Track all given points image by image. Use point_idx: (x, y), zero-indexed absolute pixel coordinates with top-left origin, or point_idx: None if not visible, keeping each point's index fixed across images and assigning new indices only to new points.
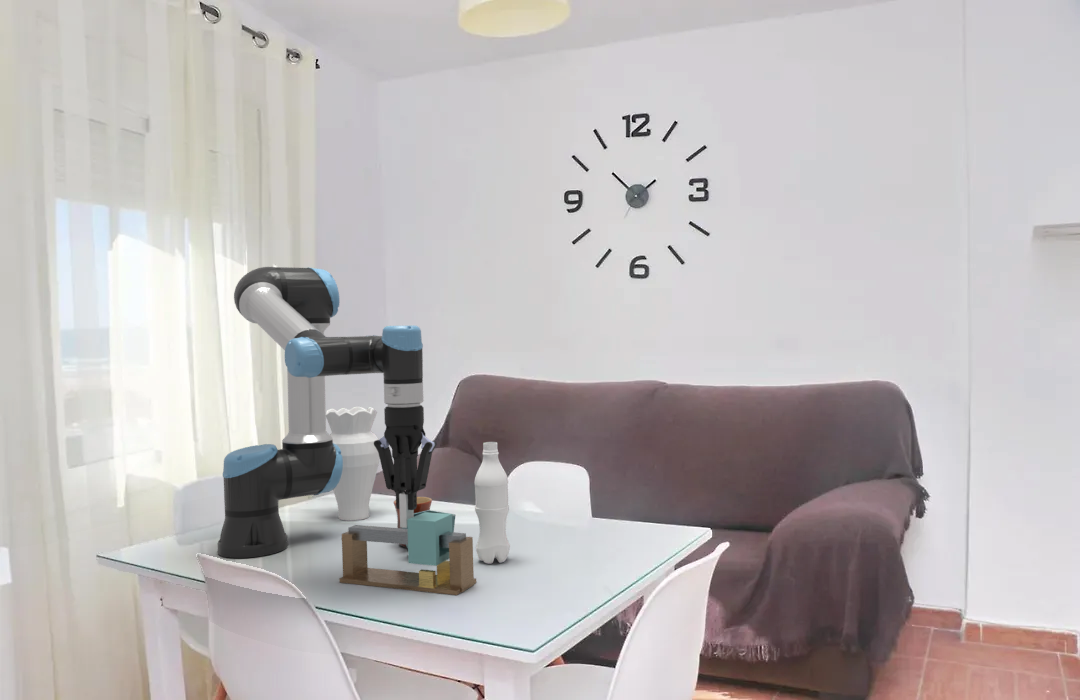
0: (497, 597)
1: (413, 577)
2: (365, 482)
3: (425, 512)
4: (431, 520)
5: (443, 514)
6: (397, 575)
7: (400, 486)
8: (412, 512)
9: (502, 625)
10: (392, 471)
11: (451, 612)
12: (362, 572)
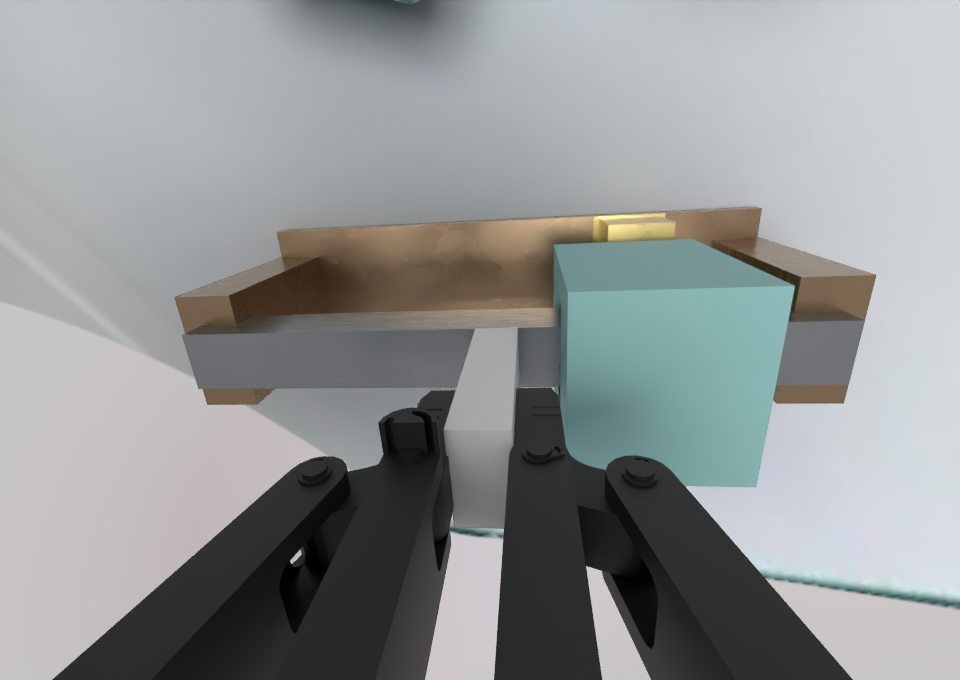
0: (881, 325)
1: (521, 276)
2: None
3: (575, 298)
4: (723, 472)
5: (734, 314)
6: (455, 275)
7: (444, 558)
8: (516, 368)
9: (950, 513)
10: (248, 636)
11: (771, 471)
12: (323, 287)
